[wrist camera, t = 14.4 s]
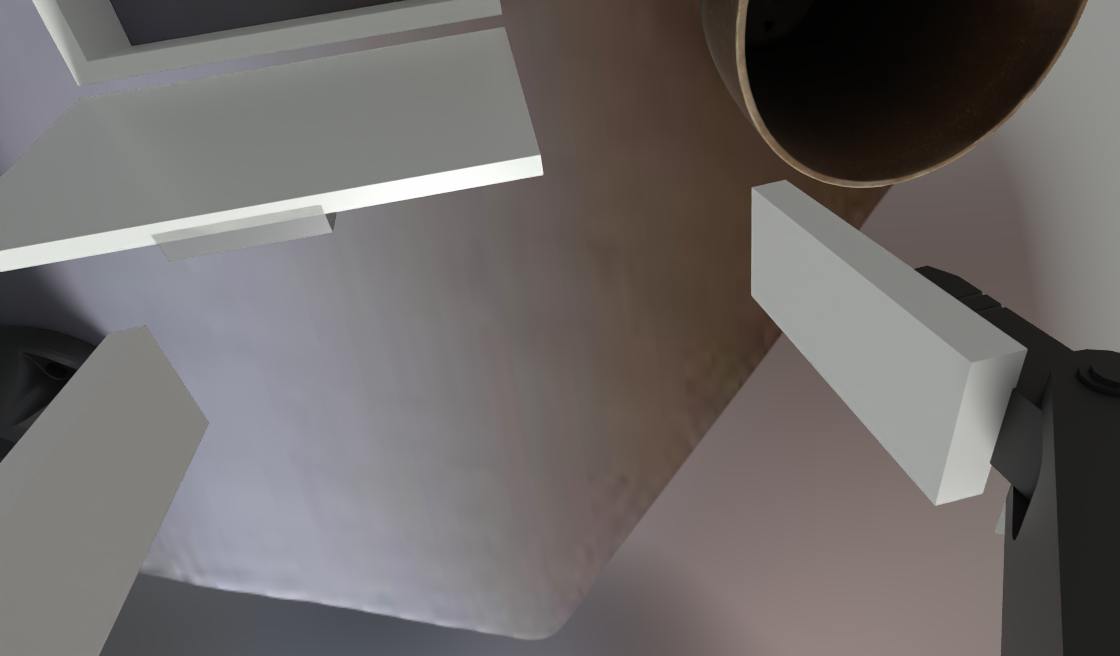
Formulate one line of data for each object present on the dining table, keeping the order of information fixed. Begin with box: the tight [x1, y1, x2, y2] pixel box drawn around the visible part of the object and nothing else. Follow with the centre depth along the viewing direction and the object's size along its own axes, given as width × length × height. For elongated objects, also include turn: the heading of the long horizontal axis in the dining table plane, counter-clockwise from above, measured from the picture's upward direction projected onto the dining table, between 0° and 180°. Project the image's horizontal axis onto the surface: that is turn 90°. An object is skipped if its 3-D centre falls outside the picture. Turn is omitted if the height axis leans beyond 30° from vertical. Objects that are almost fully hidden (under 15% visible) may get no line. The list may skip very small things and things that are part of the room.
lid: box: [0, 27, 543, 272], centre depth 27 cm, size 22×14×2 cm
